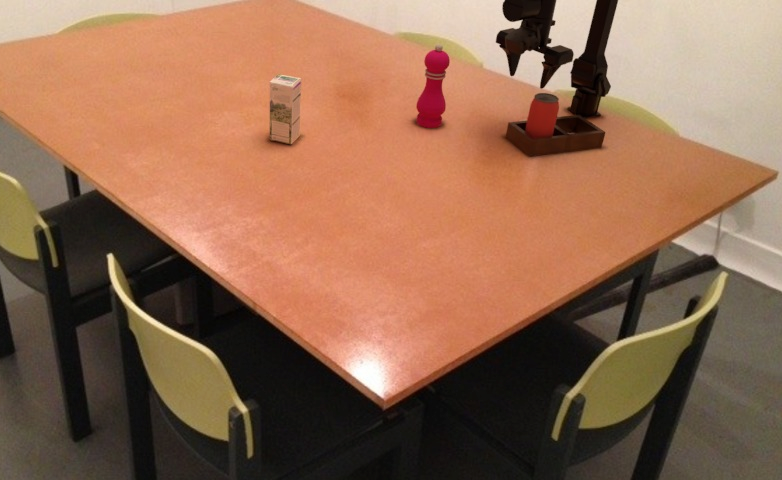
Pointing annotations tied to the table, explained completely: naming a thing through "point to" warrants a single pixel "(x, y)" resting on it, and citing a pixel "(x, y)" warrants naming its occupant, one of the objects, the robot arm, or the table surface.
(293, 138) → the syrup box
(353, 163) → the table surface
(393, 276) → the table surface
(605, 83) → the robot arm
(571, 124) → the can rack
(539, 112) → the beer can
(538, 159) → the table surface
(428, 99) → the pepper mill
